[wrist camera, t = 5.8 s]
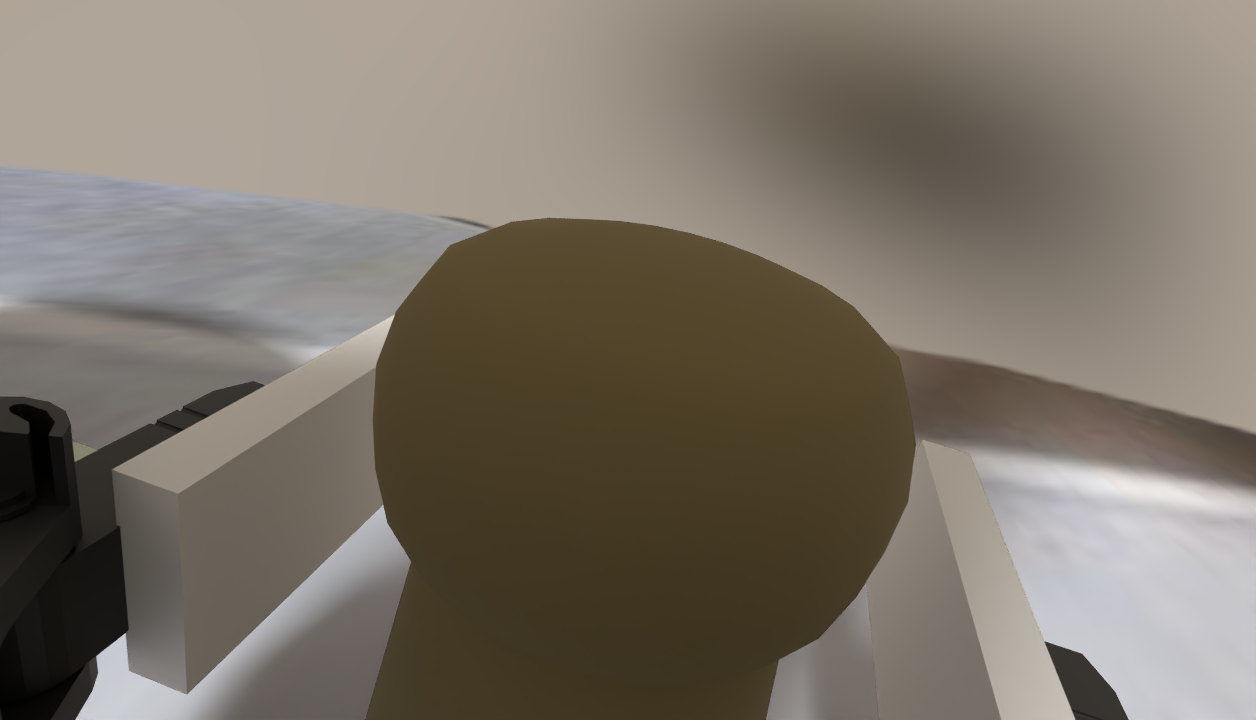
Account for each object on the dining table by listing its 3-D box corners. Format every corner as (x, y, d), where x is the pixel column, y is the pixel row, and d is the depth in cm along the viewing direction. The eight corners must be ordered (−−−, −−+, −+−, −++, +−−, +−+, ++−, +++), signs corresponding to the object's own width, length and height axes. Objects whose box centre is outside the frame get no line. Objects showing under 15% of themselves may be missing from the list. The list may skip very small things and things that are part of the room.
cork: (335, 760, 13) (383, 136, 9) (657, 755, 14) (836, 221, 10) (230, 1288, 8) (213, 355, 3) (756, 1195, 9) (1228, 465, 5)
